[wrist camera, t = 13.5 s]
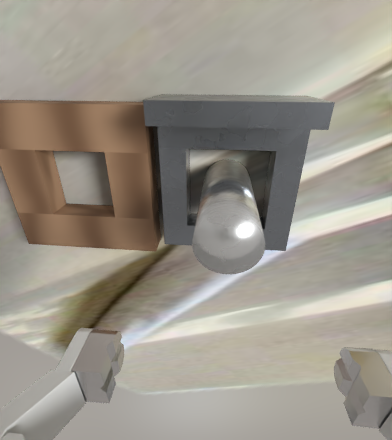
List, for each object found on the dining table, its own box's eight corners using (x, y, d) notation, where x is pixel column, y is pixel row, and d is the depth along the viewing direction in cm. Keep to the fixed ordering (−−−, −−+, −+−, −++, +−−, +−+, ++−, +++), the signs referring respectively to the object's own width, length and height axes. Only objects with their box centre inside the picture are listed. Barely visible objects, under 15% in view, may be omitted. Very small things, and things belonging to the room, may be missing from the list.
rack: (169, 231, 29) (157, 265, 24) (162, 94, 22) (143, 100, 17) (280, 237, 28) (293, 274, 23) (307, 95, 21) (334, 102, 16)
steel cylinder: (203, 201, 27) (192, 271, 17) (204, 158, 25) (191, 211, 15) (247, 203, 26) (260, 276, 17) (252, 160, 24) (270, 215, 15)
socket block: (42, 231, 30) (28, 243, 28) (-1, 100, 24) (-23, 102, 22) (161, 238, 29) (155, 251, 27) (151, 102, 23) (143, 104, 20)
